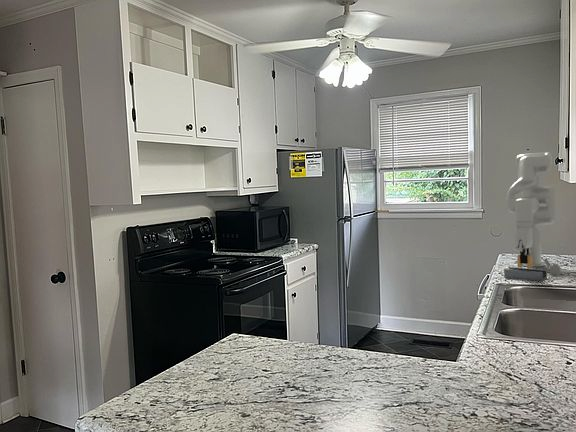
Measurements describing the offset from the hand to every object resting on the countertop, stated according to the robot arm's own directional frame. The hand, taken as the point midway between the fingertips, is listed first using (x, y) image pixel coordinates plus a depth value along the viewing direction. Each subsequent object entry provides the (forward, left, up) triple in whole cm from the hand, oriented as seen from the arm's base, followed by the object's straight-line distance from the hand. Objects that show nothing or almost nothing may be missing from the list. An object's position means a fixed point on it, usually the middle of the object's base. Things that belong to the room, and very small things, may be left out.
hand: (524, 262), depth 231 cm
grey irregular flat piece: (-14, +7, -8) cm, 18 cm away
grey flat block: (0, 0, -7) cm, 7 cm away
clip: (0, 0, -2) cm, 2 cm away
